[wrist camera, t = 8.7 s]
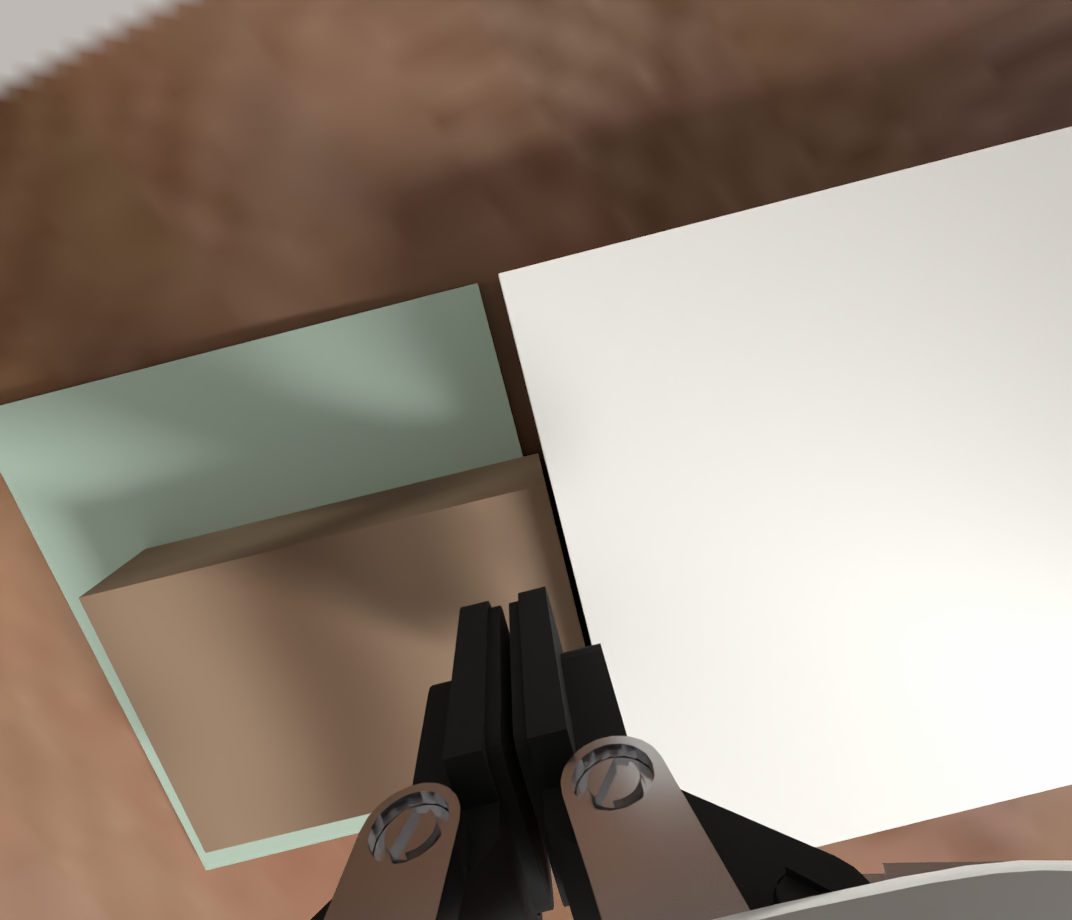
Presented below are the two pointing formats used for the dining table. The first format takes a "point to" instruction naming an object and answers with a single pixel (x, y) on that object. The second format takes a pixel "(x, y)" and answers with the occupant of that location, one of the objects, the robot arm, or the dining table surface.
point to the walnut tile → (319, 642)
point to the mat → (253, 452)
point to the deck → (827, 488)
